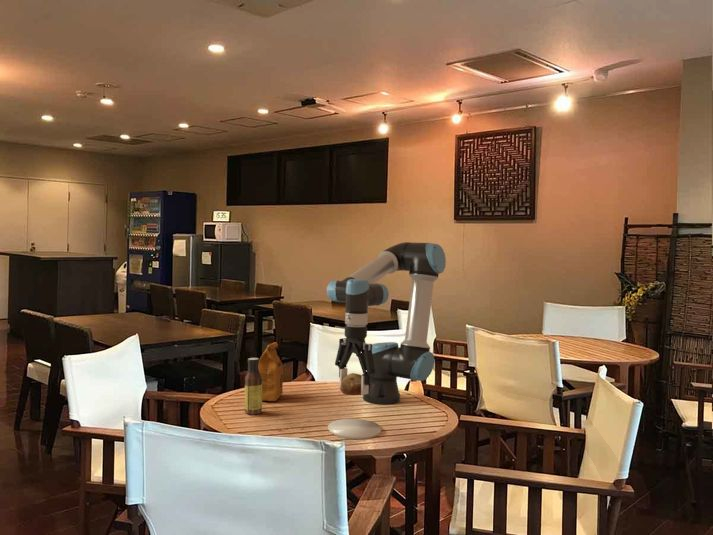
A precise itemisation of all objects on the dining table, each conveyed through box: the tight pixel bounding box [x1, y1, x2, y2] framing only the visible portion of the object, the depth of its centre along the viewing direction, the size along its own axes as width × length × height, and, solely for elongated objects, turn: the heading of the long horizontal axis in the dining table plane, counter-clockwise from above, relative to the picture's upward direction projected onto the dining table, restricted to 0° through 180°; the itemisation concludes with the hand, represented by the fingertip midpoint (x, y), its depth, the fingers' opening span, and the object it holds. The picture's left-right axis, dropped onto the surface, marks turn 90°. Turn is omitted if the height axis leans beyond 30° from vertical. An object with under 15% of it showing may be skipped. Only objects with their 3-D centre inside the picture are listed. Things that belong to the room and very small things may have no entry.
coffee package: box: [258, 341, 284, 402], centre depth 237 cm, size 10×12×22 cm
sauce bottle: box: [244, 357, 263, 415], centre depth 218 cm, size 7×6×20 cm
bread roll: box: [339, 372, 370, 396], centre depth 202 cm, size 10×10×8 cm
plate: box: [327, 418, 382, 440], centre depth 203 cm, size 18×18×1 cm
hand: (353, 390), depth 202 cm, fingers closed on bread roll, 10 cm apart
